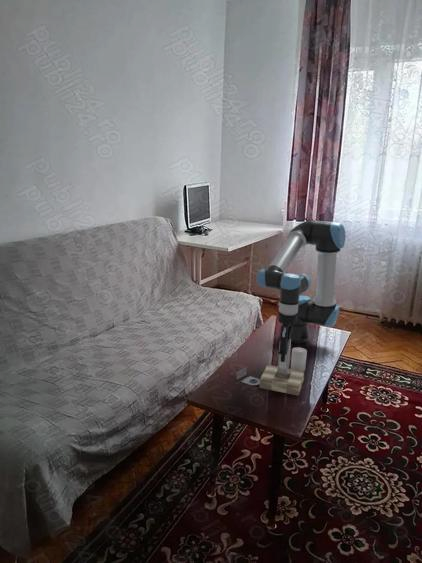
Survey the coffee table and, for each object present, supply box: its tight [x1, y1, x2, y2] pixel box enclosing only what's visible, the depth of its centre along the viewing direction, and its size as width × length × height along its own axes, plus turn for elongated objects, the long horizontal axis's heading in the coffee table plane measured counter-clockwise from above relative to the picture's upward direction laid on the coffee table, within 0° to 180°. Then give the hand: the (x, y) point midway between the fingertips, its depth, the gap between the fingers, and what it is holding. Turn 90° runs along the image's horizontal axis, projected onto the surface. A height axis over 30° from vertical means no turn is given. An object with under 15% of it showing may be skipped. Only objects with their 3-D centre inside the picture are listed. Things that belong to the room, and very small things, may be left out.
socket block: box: [259, 364, 305, 396], centre depth 174 cm, size 14×16×4 cm
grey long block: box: [277, 339, 292, 374], centre depth 172 cm, size 4×4×14 cm
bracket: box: [236, 367, 260, 386], centre depth 176 cm, size 7×10×4 cm, turn 48°
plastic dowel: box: [290, 347, 308, 372], centre depth 188 cm, size 6×6×9 cm
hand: (283, 365), depth 173 cm, fingers closed on grey long block, 4 cm apart
